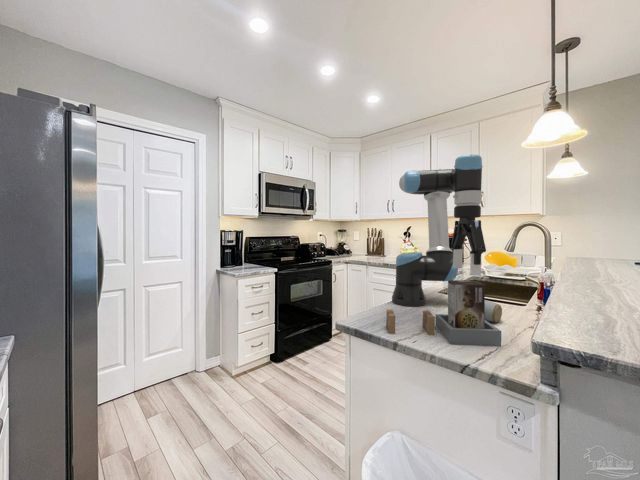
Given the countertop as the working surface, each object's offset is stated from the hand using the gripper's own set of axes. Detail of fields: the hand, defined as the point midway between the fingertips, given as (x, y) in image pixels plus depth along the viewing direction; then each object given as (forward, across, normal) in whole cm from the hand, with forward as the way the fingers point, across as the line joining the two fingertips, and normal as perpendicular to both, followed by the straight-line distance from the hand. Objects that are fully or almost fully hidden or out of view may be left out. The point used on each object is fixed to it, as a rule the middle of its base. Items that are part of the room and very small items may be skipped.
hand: (465, 271), depth 87 cm
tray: (+21, +1, 0) cm, 21 cm away
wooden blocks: (+21, -2, -17) cm, 27 cm away
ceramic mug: (+21, -17, +15) cm, 31 cm away
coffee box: (+20, +1, 0) cm, 20 cm away
